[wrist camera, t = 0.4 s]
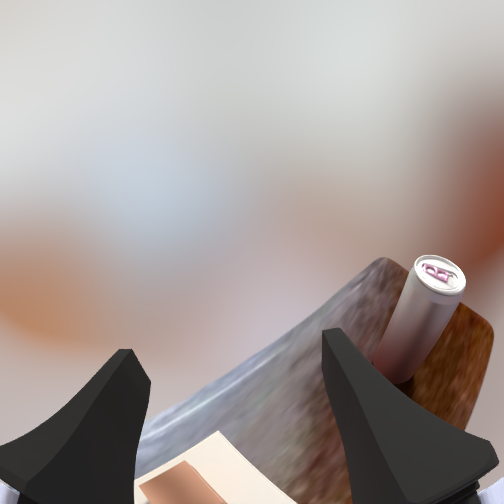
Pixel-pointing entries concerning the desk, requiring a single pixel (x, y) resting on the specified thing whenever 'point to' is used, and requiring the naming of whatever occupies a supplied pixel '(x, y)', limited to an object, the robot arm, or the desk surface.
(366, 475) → the robot arm
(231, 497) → the board
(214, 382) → the desk surface
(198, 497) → the block
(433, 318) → the beverage can
